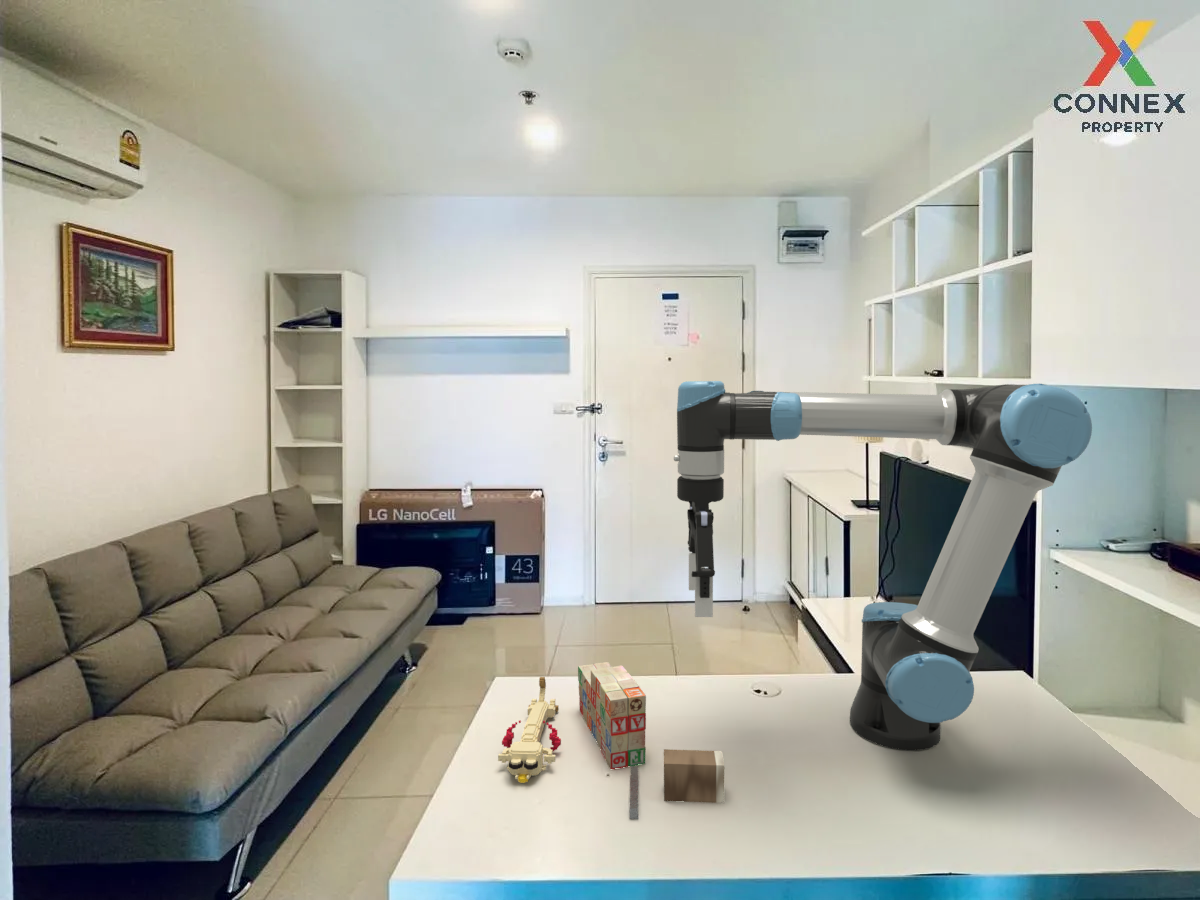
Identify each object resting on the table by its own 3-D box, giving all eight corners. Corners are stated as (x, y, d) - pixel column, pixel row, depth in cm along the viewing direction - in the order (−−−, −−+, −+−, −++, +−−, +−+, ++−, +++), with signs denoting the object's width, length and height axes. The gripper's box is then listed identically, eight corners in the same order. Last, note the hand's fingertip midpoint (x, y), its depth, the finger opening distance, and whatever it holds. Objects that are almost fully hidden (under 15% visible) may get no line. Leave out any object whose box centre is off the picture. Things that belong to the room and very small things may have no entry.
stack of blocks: (578, 711, 132) (577, 650, 131) (609, 706, 134) (608, 646, 132) (610, 771, 111) (610, 699, 110) (646, 765, 113) (646, 694, 112)
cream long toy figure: (518, 718, 132) (490, 783, 107) (518, 673, 132) (490, 728, 107) (569, 719, 131) (553, 785, 106) (569, 674, 131) (552, 729, 106)
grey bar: (638, 775, 110) (638, 766, 110) (638, 819, 99) (637, 808, 99) (630, 775, 110) (630, 765, 110) (629, 818, 99) (629, 808, 99)
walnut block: (663, 785, 107) (721, 787, 106) (664, 801, 103) (724, 803, 102) (663, 749, 106) (721, 751, 106) (664, 763, 102) (724, 765, 102)
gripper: (673, 466, 123) (673, 580, 126) (682, 487, 99) (681, 629, 101) (715, 466, 123) (714, 580, 125) (734, 487, 98) (732, 629, 100)
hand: (699, 602), depth 113 cm, fingers open, 13 cm apart
